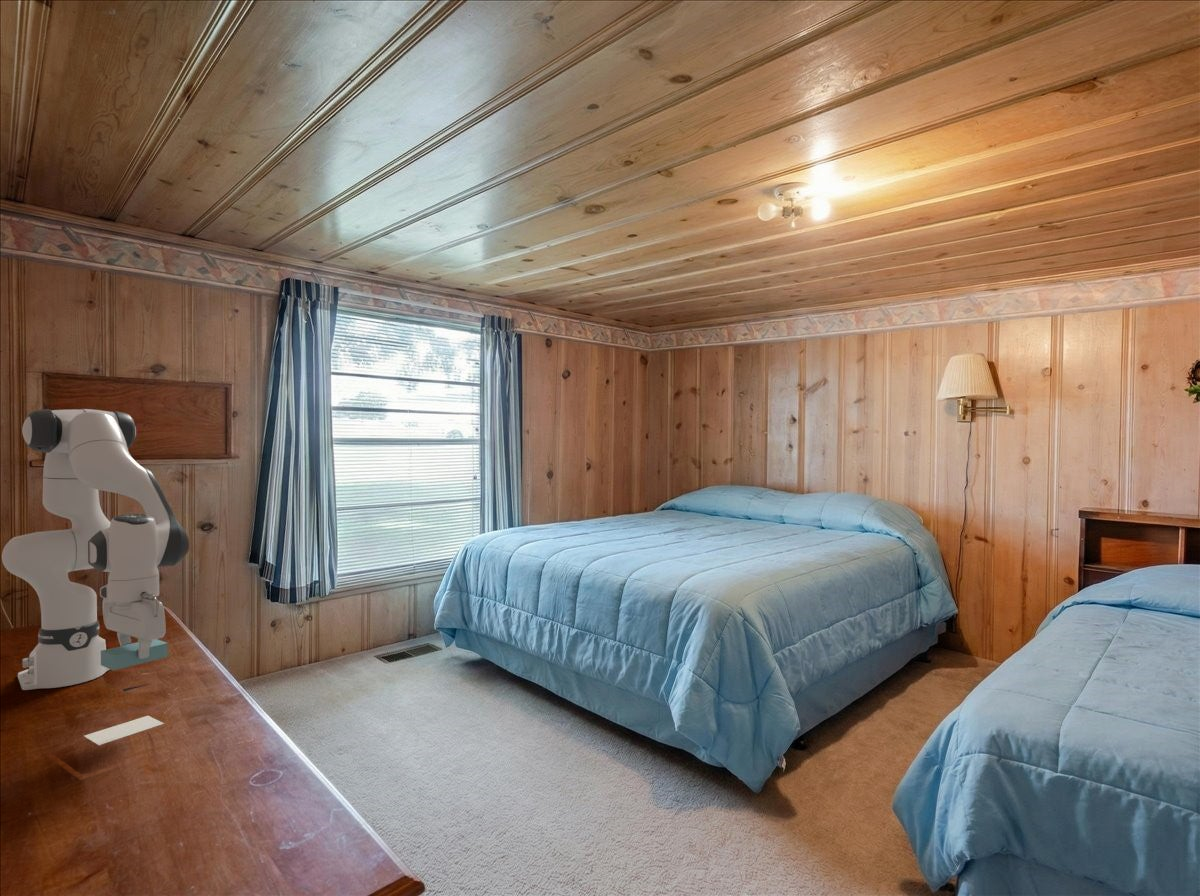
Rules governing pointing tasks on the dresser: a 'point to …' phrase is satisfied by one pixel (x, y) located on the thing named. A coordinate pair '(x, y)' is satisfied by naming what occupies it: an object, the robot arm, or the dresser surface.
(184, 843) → the dresser surface
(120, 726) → the mat
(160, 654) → the teal rectangular block
